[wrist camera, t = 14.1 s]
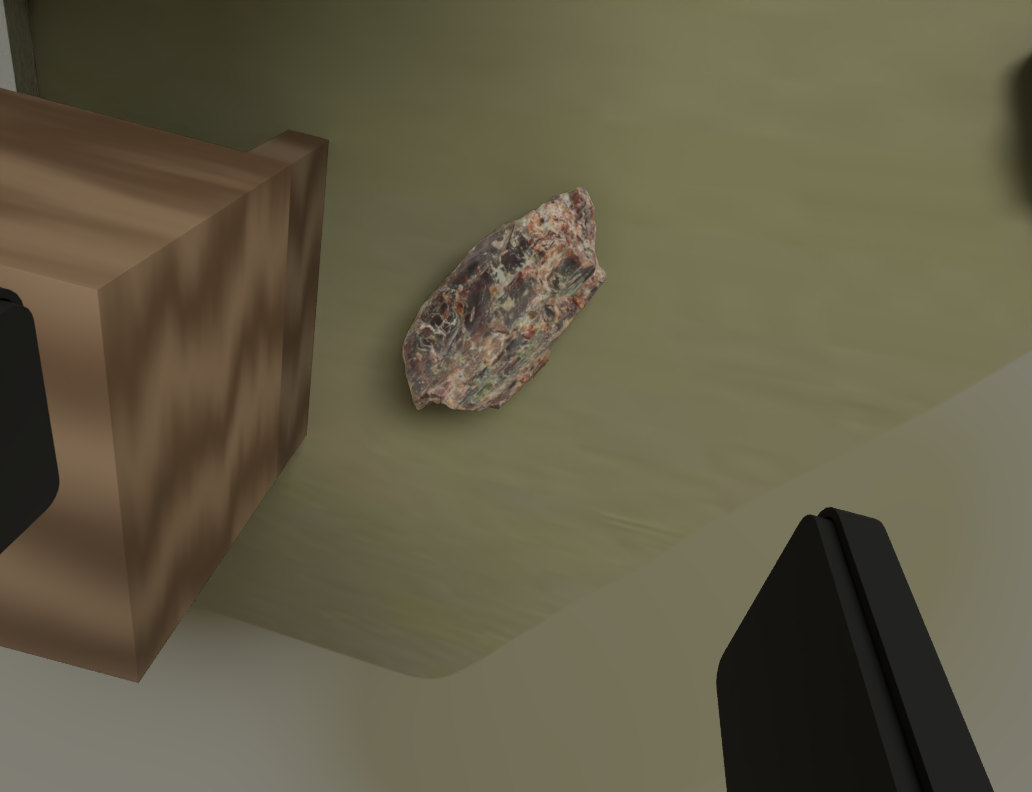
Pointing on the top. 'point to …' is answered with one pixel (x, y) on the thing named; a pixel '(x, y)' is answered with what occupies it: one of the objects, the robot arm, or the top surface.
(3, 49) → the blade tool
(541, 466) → the top surface
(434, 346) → the rock
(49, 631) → the cabinet
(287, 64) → the top surface
